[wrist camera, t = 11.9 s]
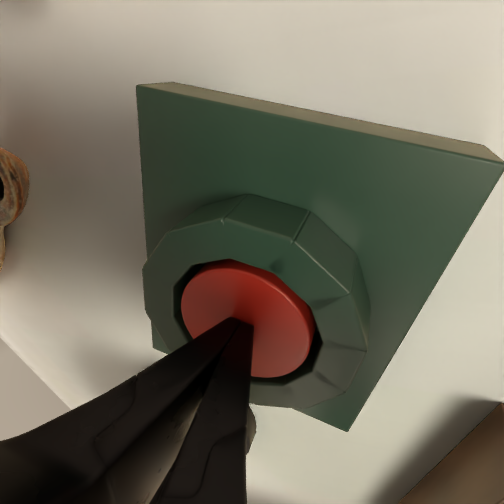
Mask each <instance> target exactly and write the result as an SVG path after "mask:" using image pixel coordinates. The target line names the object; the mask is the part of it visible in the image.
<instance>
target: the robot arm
mask: <svg viewBox="0 0 504 504" xmlns="http://www.w3.org/2000/svg"><path fill="white" fill-rule="evenodd" d="M253 340H254V325H252V324H249V323H247V322H242V321H241V320H239V319H236V318H234V317H228V318H226V319H225V320H223V321H222V322H220V323H218V324H217V325H215V326H214V327H212V328H210V329H209V330H207V331H205V332H204V333H202V334H201V335H199V336H197V337H196V338H194V339H193V340H191V341H189V342H188V343H186V344H185V345H183V346H181V347H180V348H178V349H176V350H175V351H173V352H172V353H170V354H168V355H167V356H165V357H164V358H162V359H160V360H159V361H157V362H156V363H154V364H152V365H151V366H149V367H147V368H146V369H144V370H143V371H141V372H139V373H138V374H137V376H136V375H134V376H133V377H131V378H130V379H128V380H126V381H125V382H123V383H121V384H120V385H118V386H116V387H115V388H113V389H111V390H109V391H108V392H106V393H104V394H102V395H100V396H98V397H97V398H95V399H93V400H91V401H89V402H87V403H85V404H83V405H81V406H79V407H77V408H75V409H73V410H71V411H69V412H67V413H65V414H63V415H61V416H59V417H57V418H55V419H53V420H51V421H49V422H47V423H45V424H43V425H41V426H39V427H37V428H35V429H33V430H31V431H29V432H26V433H24V434H21V435H19V436H16V437H13V438H10V439H6V440H3V441H0V504H149V503H150V501H151V499H152V498H153V496H154V494H155V493H156V491H157V489H158V488H159V486H160V484H161V483H162V481H163V479H164V478H165V476H166V474H167V473H168V471H169V469H170V468H171V466H172V464H173V463H174V464H173V466H172V468H171V471H170V473H169V475H168V478H167V480H166V482H165V484H164V487H163V489H162V491H161V494H160V496H159V499H158V501H157V503H156V504H247V492H246V441H247V425H248V411H249V397H250V383H251V368H252V354H253Z"/></svg>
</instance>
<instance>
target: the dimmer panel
mask: <svg viewBox="0 0 504 504" xmlns="http://www.w3.org/2000/svg"><path fill="white" fill-rule="evenodd" d="M398 504H504V404H503V403H501V404H499V405H498V406H497V407H496V408H495V409H494V410H493V411H492V412H491V413H490V414H489V415H488V416H487V417H486V418H485V419H484V420H483V421H482V422H481V423H480V424H479V425H478V426H477V427H476V428H475V429H474V430H473V431H472V432H471V433H470V434H469V435H468V436H467V437H465V438H464V439H463V440H462V441H461V442H460V443H459V444H458V445H457V446H456V447H455V448H454V449H453V450H452V451H451V452H450V453H449V454H448V455H447V456H446V457H445V458H444V459H443V460H442V461H441V462H440V463H439V464H438V465H437V466H436V467H435V468H434V469H433V470H431V471H430V472H429V473H428V474H427V475H426V476H425V477H424V478H423V479H422V480H421V481H420V482H419V483H418V484H417V485H416V486H415V487H414V488H413V489H412V490H411V491H410V492H409V493H408V494H407V495H406V496H405V497H404V498H403V499H402V500H401V501H400V502H399V503H398Z"/></svg>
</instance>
